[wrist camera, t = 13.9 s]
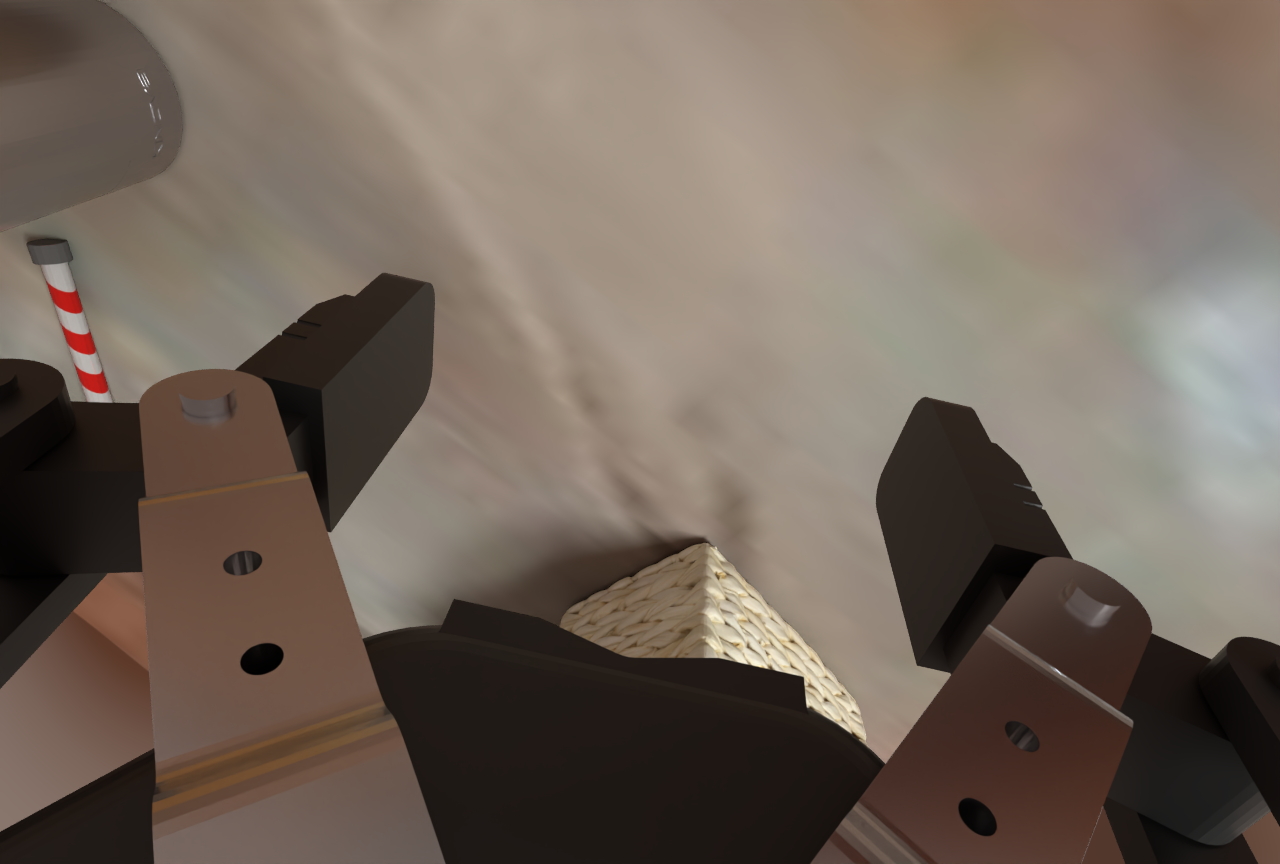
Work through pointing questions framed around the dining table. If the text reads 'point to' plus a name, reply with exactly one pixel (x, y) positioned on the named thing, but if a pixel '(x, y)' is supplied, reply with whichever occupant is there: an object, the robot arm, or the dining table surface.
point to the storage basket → (707, 626)
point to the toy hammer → (71, 315)
